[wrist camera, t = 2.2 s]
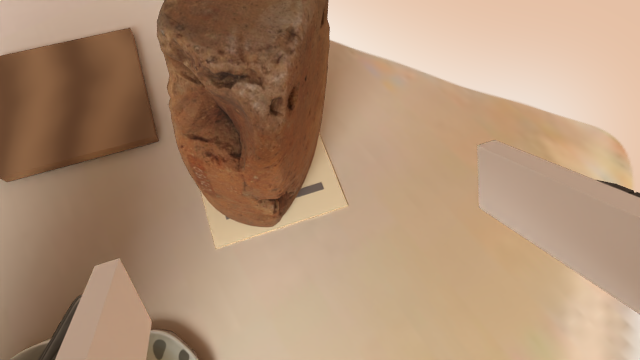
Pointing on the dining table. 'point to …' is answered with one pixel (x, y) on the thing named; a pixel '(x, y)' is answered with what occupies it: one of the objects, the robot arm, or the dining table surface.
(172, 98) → the brown tall rough part
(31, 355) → the salad plate
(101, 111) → the plate
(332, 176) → the letter
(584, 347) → the dining table surface
